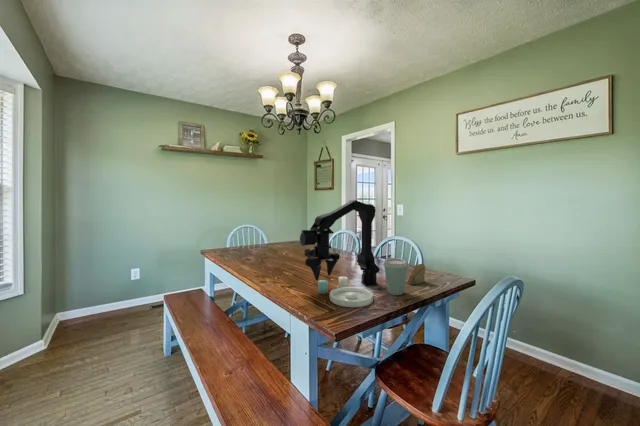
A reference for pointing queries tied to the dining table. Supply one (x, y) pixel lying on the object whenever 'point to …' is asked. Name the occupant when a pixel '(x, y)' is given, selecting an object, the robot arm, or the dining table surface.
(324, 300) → the dining table surface
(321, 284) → the teal bead
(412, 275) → the brown bread wedge
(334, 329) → the dining table surface
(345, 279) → the cream bead
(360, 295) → the groove dish
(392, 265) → the disposable coffee cup
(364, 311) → the dining table surface
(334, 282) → the dining table surface
